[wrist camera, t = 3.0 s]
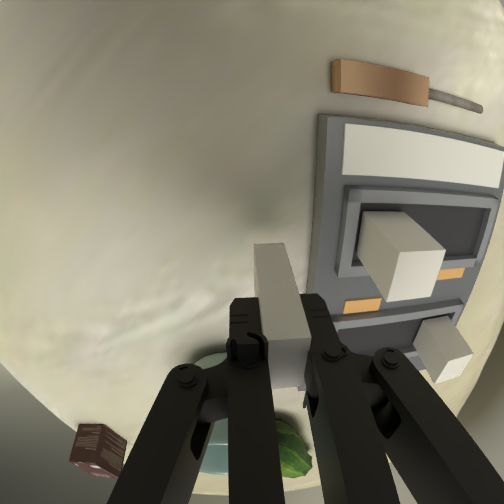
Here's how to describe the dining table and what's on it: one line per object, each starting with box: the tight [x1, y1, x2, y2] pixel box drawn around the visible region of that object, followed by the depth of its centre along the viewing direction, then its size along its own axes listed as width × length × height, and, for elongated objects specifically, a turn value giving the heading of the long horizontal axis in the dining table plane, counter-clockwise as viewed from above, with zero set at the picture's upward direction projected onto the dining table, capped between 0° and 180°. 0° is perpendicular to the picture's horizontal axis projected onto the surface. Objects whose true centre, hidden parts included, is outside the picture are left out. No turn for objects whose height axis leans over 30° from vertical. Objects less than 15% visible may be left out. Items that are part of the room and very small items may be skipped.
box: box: [69, 424, 127, 479], centre depth 33 cm, size 6×6×7 cm
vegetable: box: [275, 420, 312, 478], centre depth 34 cm, size 7×7×20 cm
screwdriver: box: [331, 59, 483, 114], centre depth 15 cm, size 12×2×2 cm, turn 91°
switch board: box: [298, 114, 504, 391], centre depth 22 cm, size 24×16×3 cm, turn 1°
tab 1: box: [356, 211, 446, 302], centre depth 16 cm, size 3×3×5 cm
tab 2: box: [413, 316, 474, 384], centre depth 21 cm, size 3×3×5 cm
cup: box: [194, 353, 228, 475], centre depth 23 cm, size 8×8×10 cm
